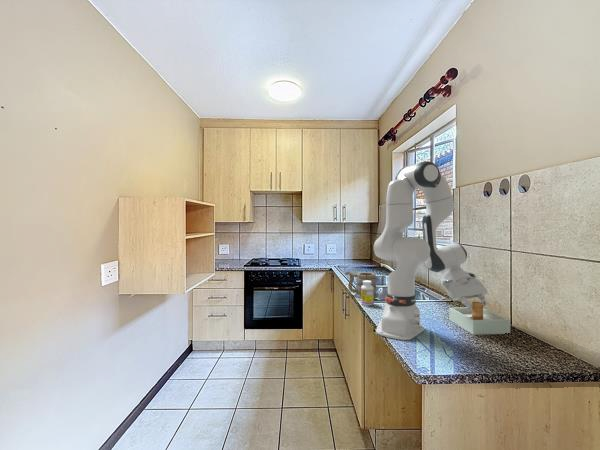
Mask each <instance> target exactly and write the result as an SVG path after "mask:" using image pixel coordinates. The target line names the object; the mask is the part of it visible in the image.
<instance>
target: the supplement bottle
mask: <svg viewBox="0 0 600 450" xmlns="http://www.w3.org/2000/svg"><path fill="white" fill-rule="evenodd" d="M374 300H375V299H374V296H373V286H372V285H371V281H369V280H365V281H363V286H361V299H360V302H361V305H362V306H367V307H369V306H370V305H371V306H373V305H374V302H375V301H374Z"/></svg>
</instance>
